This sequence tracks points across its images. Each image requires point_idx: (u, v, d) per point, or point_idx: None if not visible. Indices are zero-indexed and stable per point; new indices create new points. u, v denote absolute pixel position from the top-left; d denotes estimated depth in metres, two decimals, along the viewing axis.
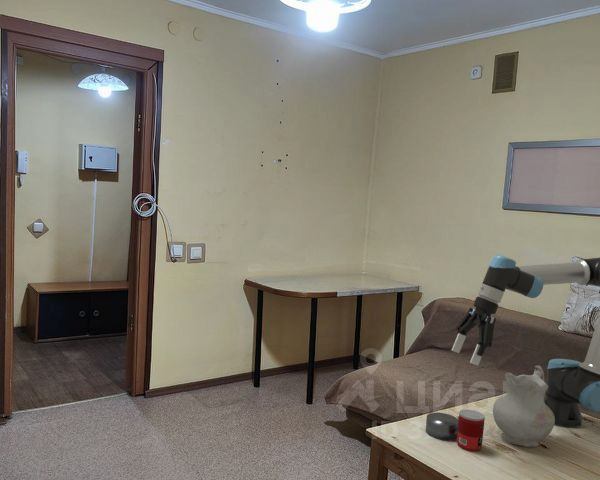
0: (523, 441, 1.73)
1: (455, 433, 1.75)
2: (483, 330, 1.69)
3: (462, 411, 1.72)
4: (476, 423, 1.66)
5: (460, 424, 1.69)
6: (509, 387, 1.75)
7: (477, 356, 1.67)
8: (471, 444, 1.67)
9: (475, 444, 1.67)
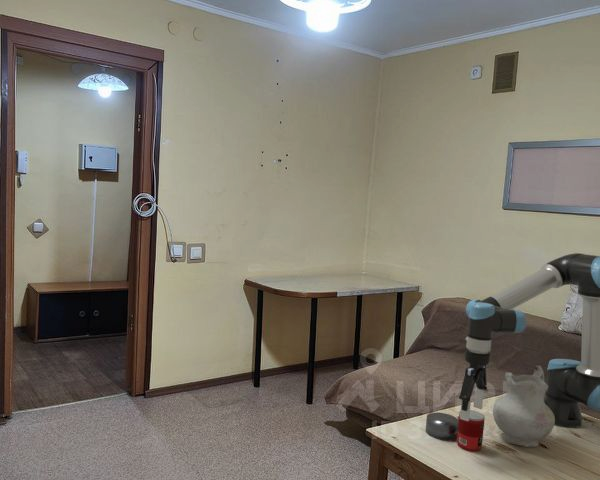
0: (523, 441, 1.73)
1: (455, 433, 1.75)
2: None
3: None
4: (476, 423, 1.66)
5: (460, 424, 1.69)
6: (509, 387, 1.75)
7: (464, 411, 1.64)
8: (471, 444, 1.67)
9: (475, 444, 1.67)
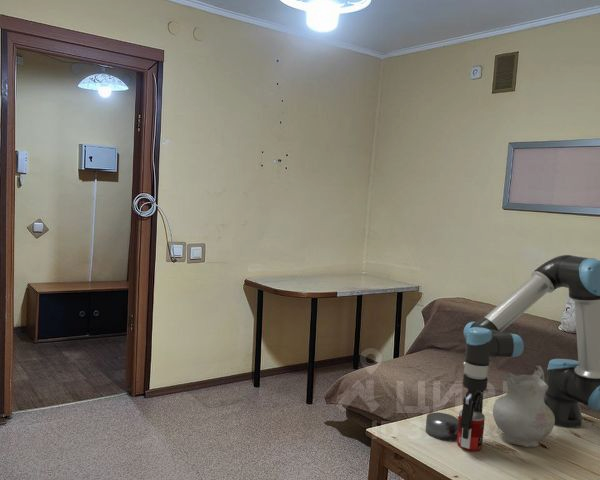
0: (523, 441, 1.73)
1: (455, 433, 1.75)
2: None
3: None
4: (476, 423, 1.66)
5: None
6: (510, 387, 1.75)
7: (465, 439, 1.67)
8: (471, 444, 1.67)
9: (475, 444, 1.67)
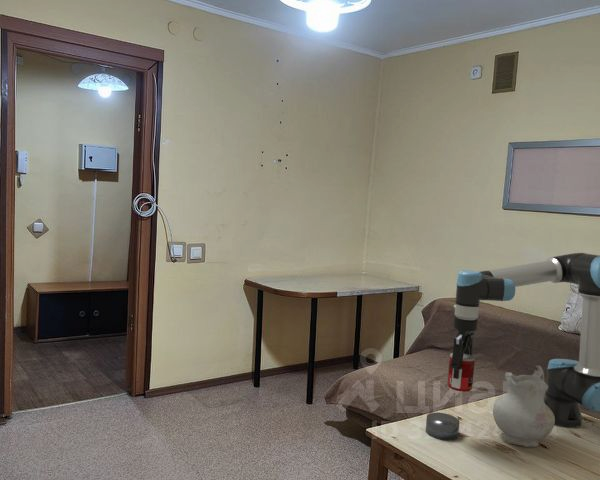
0: (523, 441, 1.73)
1: (455, 433, 1.75)
2: None
3: None
4: (466, 363, 1.69)
5: None
6: (509, 387, 1.75)
7: (455, 379, 1.69)
8: (461, 384, 1.69)
9: (466, 384, 1.69)
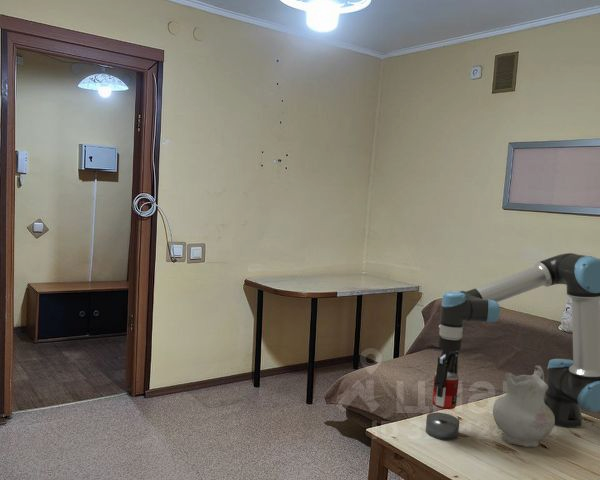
0: (523, 441, 1.73)
1: (455, 433, 1.75)
2: None
3: None
4: (450, 382, 1.74)
5: None
6: (509, 387, 1.75)
7: (439, 397, 1.74)
8: (445, 402, 1.74)
9: (449, 402, 1.74)
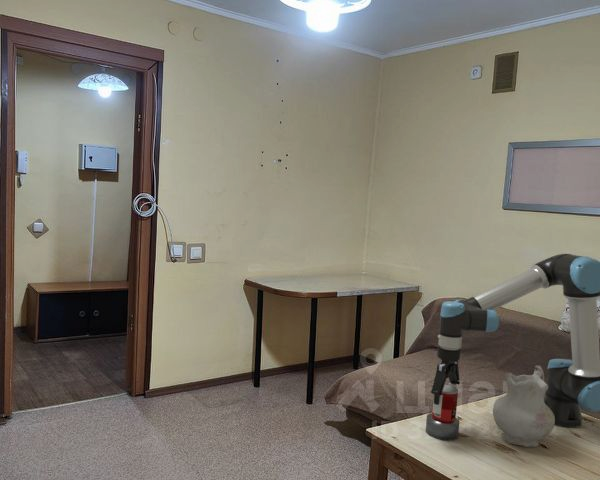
0: (523, 441, 1.73)
1: (455, 433, 1.75)
2: None
3: None
4: (449, 396, 1.74)
5: None
6: (509, 387, 1.75)
7: (436, 405, 1.72)
8: (444, 416, 1.75)
9: (449, 416, 1.75)
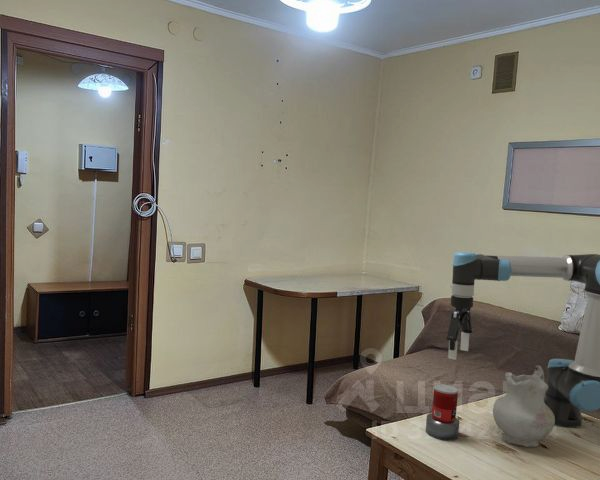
0: (523, 441, 1.73)
1: (455, 433, 1.75)
2: None
3: (437, 385, 1.80)
4: (449, 396, 1.74)
5: (435, 397, 1.77)
6: (510, 387, 1.75)
7: (452, 351, 1.78)
8: (444, 416, 1.75)
9: (449, 416, 1.75)
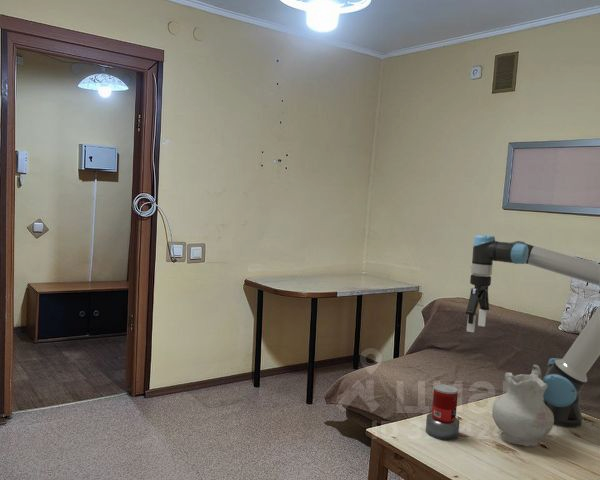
0: (523, 441, 1.73)
1: (455, 433, 1.75)
2: None
3: (437, 385, 1.80)
4: (449, 396, 1.74)
5: (434, 397, 1.77)
6: (509, 387, 1.75)
7: (470, 324, 1.95)
8: (444, 416, 1.75)
9: (449, 416, 1.75)
